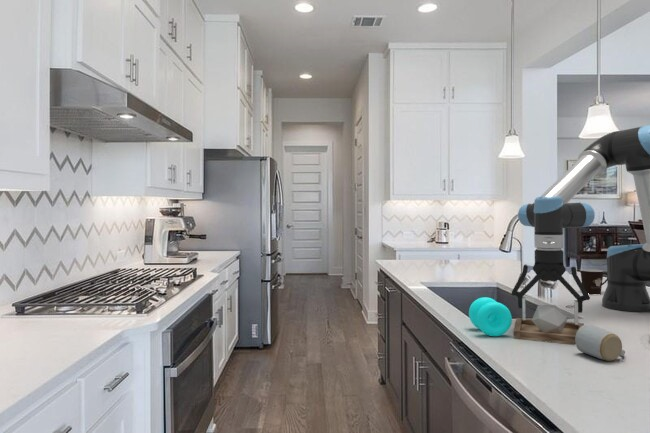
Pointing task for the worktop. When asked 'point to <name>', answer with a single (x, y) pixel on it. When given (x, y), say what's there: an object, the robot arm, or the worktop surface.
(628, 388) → the worktop surface
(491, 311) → the donuts
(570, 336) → the tray
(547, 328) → the die
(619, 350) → the ceramic mug
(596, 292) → the coffee mug
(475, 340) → the worktop surface
